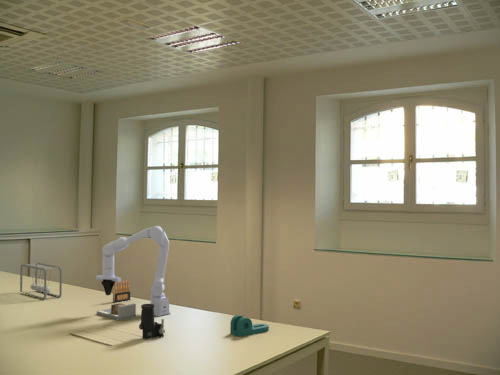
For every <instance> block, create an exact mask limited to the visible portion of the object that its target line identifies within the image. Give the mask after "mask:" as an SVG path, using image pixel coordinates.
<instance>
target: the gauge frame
mask: <svg viewBox="0 0 500 375" xmlns="http://www.w3.org/2000/svg"><path fill="white" fill-rule="evenodd" d="M136 307H137V304H136V303H128V304H126V305H122V306H118V314H114V313H113V314H111V308H107V309H101V310H97V311H96V315H98V316H101V317H105V318H109V319H113V320H116V321H120V322H121V321H127V320H131V319H135V318H137V314H136V313H137V312H136V311H137V308H136Z"/></svg>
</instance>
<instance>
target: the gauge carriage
mask: <svg viewBox="0 0 500 375" xmlns="http://www.w3.org/2000/svg"><path fill="white" fill-rule="evenodd" d="M122 305H127V304H125V303H122V302H118V303H113V304H111V305H110V309H111V314H113V313H114V314H118V306H122Z"/></svg>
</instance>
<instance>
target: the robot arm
mask: <svg viewBox="0 0 500 375" xmlns="http://www.w3.org/2000/svg"><path fill="white" fill-rule="evenodd" d="M143 238H147V239H149V238H150V239H151V240H154V241H155V242H156V243H157V244H158V246H159V249H158V255H157V261H156V262H157V263H156V267H155V275H154V280H153V282H152V283H153V284H152V286H151V287H150V290H149V291H150V295H149V296H150V302H149V304H154V308H153V309H154V316H156V317H161V316H165V315H170V314H171V312H170V299H169V298H168V297H166V294H165V292H164V291H165V289H166V286H165V275H166V269H167V262H168V256H169V248H170V241H169V238H168V236H167V233H166V231H165V229H163V228H162V226H160V225H154V226H152V227H148V228H145V229H141V231H138V232H136V233H134V234H133V235H130V236H128V237H126V236H119V237H118V238H117V239H115V240H113V241H109V243H106V244H105V245H103V247H102V248H101V253H102V275H101V274H99V275H96V276H95V280H97V281H98V280H99V281H100V280H101V285H102V287H103V289H104V293H105V296H110V295H112V291H113V289H114V284H115V281H116V283H117V282H119V283H120V281H121V282H122V277H119V276H116V275H115V253H119V252H120V251H123V250H124V249H127V248H129V246H130V244H131V243H133V242H137V241H138V240H141V239H143Z"/></svg>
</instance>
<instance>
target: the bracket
mask: <svg viewBox="0 0 500 375" xmlns="http://www.w3.org/2000/svg"><path fill="white" fill-rule="evenodd" d="M269 328H270V326H269V324H267V323H255V324H254V323H253V321H252V320H251V319H250V317H246V316H243V315H239V314H235V315H233V317H232V318H231V320H230V328H229V329H230V334H231V335H233V336H235V337H239V338H243V337H246V336H247V337H248V336H253V335H256V334H261V333H267V332H269V330H270V329H269Z"/></svg>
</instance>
